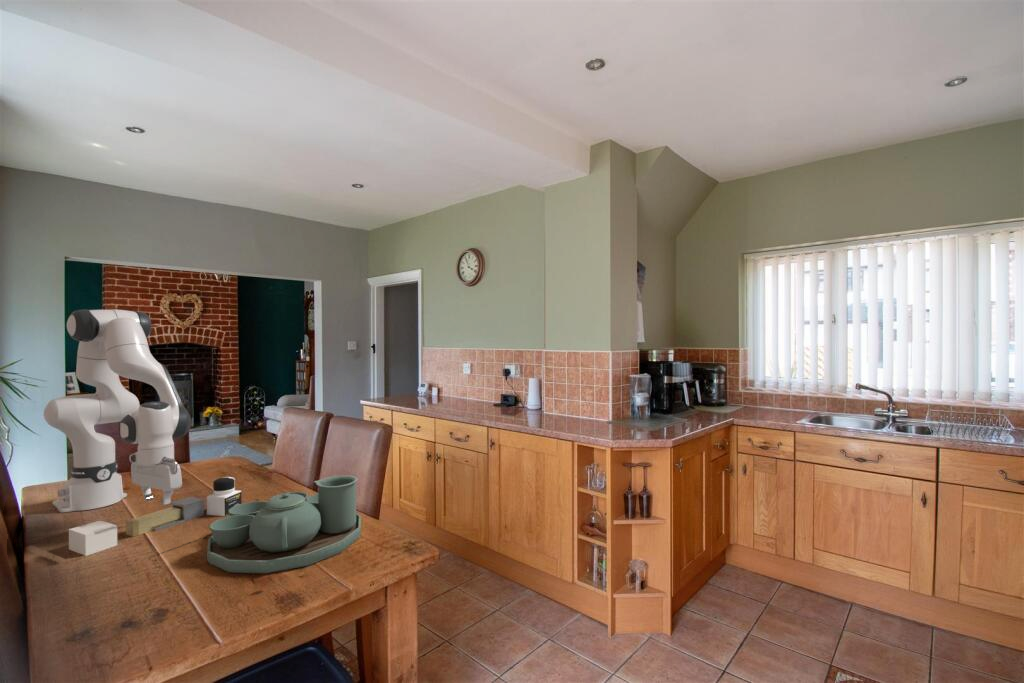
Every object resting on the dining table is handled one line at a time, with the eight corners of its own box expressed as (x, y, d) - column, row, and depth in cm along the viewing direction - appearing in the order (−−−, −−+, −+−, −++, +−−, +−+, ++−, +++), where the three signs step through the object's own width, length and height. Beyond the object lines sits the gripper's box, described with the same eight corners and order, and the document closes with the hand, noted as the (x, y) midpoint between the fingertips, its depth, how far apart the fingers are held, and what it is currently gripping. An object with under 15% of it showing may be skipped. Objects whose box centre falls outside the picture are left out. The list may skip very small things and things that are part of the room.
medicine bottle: (225, 519, 151) (224, 482, 151) (206, 518, 153) (205, 481, 153) (242, 511, 158) (241, 475, 158) (223, 510, 160) (223, 474, 160)
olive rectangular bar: (125, 534, 137) (125, 520, 137) (184, 515, 152) (184, 502, 152) (133, 536, 136) (133, 522, 136) (191, 517, 150) (191, 504, 150)
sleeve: (141, 530, 143) (141, 510, 143) (190, 515, 155) (190, 496, 155) (156, 535, 139) (156, 514, 139) (205, 518, 152) (205, 499, 152)
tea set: (326, 507, 163) (326, 459, 163) (386, 541, 134) (385, 484, 134) (190, 542, 135) (189, 484, 135) (228, 595, 106) (228, 522, 106)
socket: (68, 553, 128) (68, 529, 128) (100, 543, 134) (100, 520, 134) (85, 559, 124) (85, 535, 124) (117, 549, 130) (117, 525, 130)
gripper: (187, 456, 141) (188, 502, 141) (149, 451, 150) (150, 494, 150) (164, 461, 135) (165, 509, 135) (126, 455, 144) (126, 500, 144)
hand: (157, 501), depth 142 cm, fingers open, 8 cm apart
